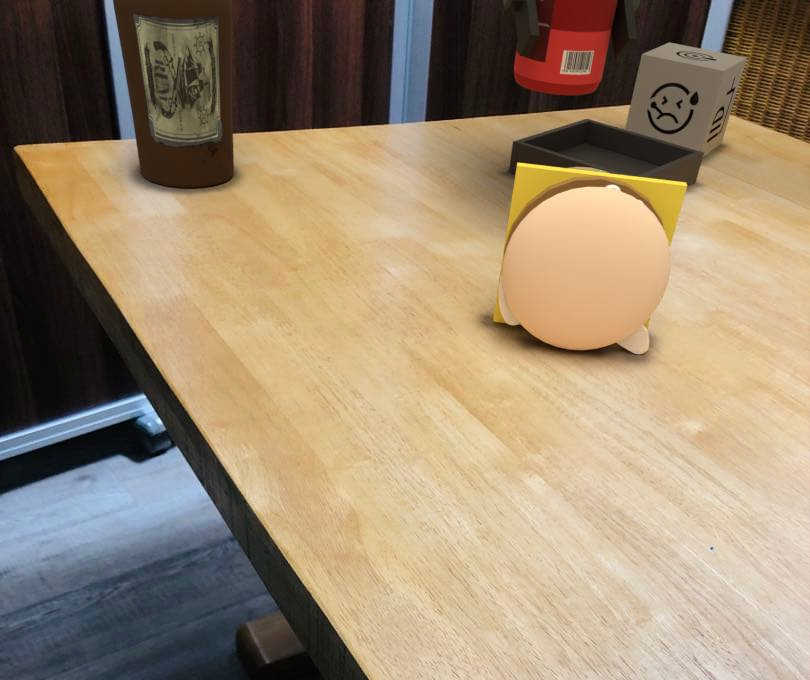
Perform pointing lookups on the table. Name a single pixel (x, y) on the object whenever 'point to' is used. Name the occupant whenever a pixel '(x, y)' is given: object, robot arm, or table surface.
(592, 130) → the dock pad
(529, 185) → the hamburger
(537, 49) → the canned food
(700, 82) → the icon cube
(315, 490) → the table surface
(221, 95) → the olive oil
